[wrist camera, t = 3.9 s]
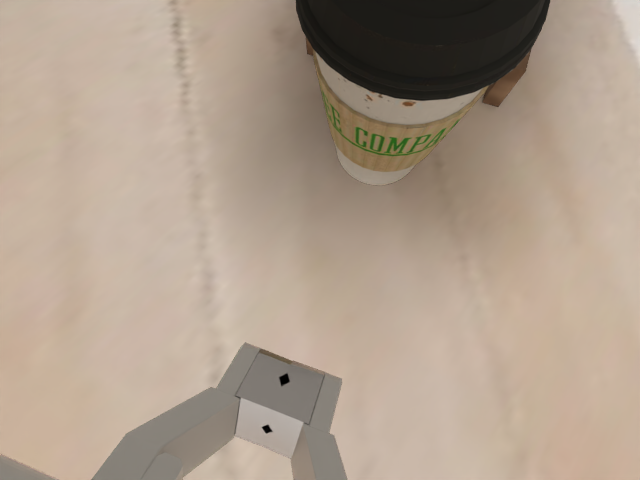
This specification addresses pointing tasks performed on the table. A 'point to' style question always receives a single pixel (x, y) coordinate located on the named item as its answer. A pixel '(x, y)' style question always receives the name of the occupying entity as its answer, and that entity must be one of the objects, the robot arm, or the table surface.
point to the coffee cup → (409, 71)
